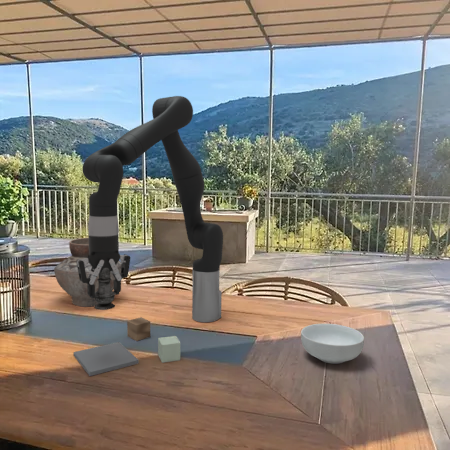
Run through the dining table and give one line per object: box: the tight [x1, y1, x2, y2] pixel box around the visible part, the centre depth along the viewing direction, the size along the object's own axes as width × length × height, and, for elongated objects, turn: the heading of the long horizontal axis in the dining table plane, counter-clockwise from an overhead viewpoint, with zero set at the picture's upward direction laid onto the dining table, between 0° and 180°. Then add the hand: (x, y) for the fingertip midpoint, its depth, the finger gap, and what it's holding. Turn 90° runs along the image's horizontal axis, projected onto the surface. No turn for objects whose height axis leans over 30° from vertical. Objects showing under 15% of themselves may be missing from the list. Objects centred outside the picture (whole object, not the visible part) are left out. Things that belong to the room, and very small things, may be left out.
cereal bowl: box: [300, 323, 365, 364], centre depth 120 cm, size 17×17×7 cm
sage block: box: [157, 335, 181, 363], centre depth 118 cm, size 5×5×5 cm
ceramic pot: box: [53, 237, 122, 308], centre depth 163 cm, size 25×25×24 cm
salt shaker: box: [93, 268, 117, 311], centre depth 113 cm, size 6×6×12 cm
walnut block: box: [126, 316, 151, 342], centre depth 132 cm, size 5×5×5 cm
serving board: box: [73, 341, 140, 377], centre depth 116 cm, size 13×14×1 cm
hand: (104, 295), depth 114 cm, fingers closed on salt shaker, 6 cm apart
